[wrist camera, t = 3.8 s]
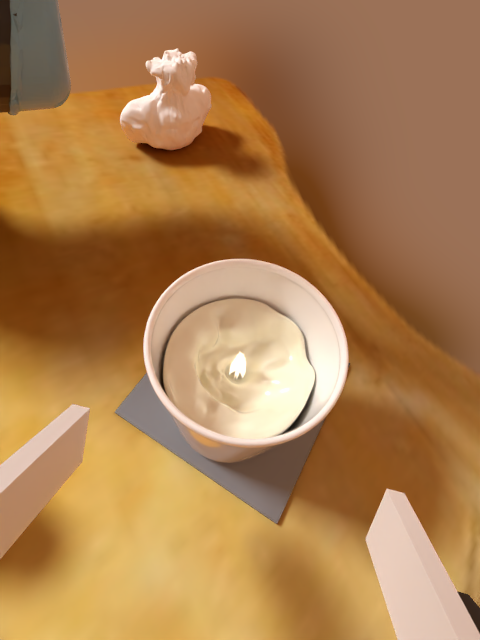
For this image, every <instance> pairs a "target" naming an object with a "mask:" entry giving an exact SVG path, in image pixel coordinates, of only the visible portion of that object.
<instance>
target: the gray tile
mask: <svg viewBox="0 0 480 640" xmlns="http://www.w3.org/2000/svg"><path fill="white" fill-rule="evenodd" d="M349 365H350V363H349V364H348V368H349ZM115 413H116V414H117V415H119V416H120V417H122V418H123V419H125V420H126V421H128V422H129V423H131V424H132V425H133V426H135V427H136V428H138V429H139V430H141V431H142V432H144V433H145V434H146V435H148V436H149V437H151V438H152V439H154V440H155V441H157V442H158V443H160V444H161V445H162V446H164V447H165V448H167V449H168V450H170V451H171V452H173V453H174V454H176V455H177V456H178V457H180V458H181V459H183V460H184V461H186V462H187V463H189V464H190V465H191V466H193V467H194V468H196V469H197V470H199V471H200V472H202V473H203V474H205V475H206V476H207V477H209V478H210V479H212V480H213V481H215V482H216V483H218V484H219V485H220V486H222V487H223V488H225V489H226V490H228V491H229V492H231V493H232V494H234V495H235V496H236V497H238V498H239V499H241V500H242V501H244V502H245V503H247V504H248V505H250V506H251V507H252V508H254V509H255V510H257V511H258V512H260V513H261V514H263V515H264V516H265V517H267V518H268V519H270V520H271V521H273V522H274V523H276V524H277V523H278V521H279V519H280V517H281V514H282V512H283V510H284V508H285V506H286V503H287V501H288V499H289V497H290V495H291V492H292V490H293V488H294V486H295V484H296V482H297V479H298V477H299V475H300V473H301V471H302V468H303V466H304V464H305V462H306V460H307V457H308V455H309V453H310V451H311V449H312V446H313V444H314V442H315V440H316V438H317V436H318V433H319V431H320V429H321V427H322V425H323V422H324V420H325V418H326V417H325V418H324V419H323V420H322V421H321V422H320V423H319V424H318V425H316V426H315V427H314V428H313V429H311V430H310V431H308V432H307V433H305V434H303V435H302V436H300V437H298V438H295V439H293V440H291V441H288V442H285V443H282V444H280V445H278V446H276V447H274V448H272V449H270V450H268V451H266V452H264V453H262V454H260V455H258V456H256V457H253V458H251V459H248V460H245V461H241V462H235V463H223V462H217V461H213V460H210V459H208V458H206V457H204V456H202V455H200V454H199V453H197V452H196V451H195V450H193V449H192V448H191V447H190V446H189V445H188V444H187V443H186V441H185V440H184V439H183V437H182V436H181V434H180V432H179V431H178V429H177V427H176V425H175V424H174V422H173V420H172V418H171V416H170V414H169V413H168V411H167V409H166V407H165V406H164V405H163V404H162V402H161V401H160V399H159V398H158V396H157V394H156V393H155V391H154V389H153V387H152V385H151V382H150V380H149V377H148V374H147V373H146V374H145V376H144V377H143V378H142V379H141V380H140V382H139V383H138V384H137V385H136V387H135V388H134V389H133V390H132V391H131V393H130V394H129V395H128V396H127V398H126V399H125V400H124V401H123V403H122V404H121V405H120V406H119V407H118V409H117V410H116V411H115Z"/></svg>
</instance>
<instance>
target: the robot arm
mask: <svg viewBox="0 0 480 640" xmlns="http://www.w3.org/2000/svg"><path fill="white" fill-rule="evenodd" d="M70 89H71V83H70V75H69V68H68V62H67V55H66V49H65V43H64V36H63V30H62V24H61V18H60V12H59V6H58V0H0V112H8V113H9V114H10V115H16V114H18V112H19V111H28V110H39V109H50V108H56V107H58V106H61V105H62V104H63V103H64V102H65V101H66V100H67V98H68V96H69V94H70ZM89 411H90V408H86V407H82V406H79V405H75V404H72V405H71V406H70V407H69V408H68V409H66V410H65V411H64V412H63V413H62V414H60V415H59V416H58V417H57V418H56V419H54V420H53V421H52V422H51V423H50V424H49V425H47V426H46V427H45V428H44V429H43V430H41V431H40V432H39V433H38V434H37V435H35V436H34V437H33V438H32V439H31V440H30V441H28V442H27V443H26V444H25V445H24V446H22V447H21V448H20V449H19V450H18V451H16V452H15V453H14V454H13V455H12V456H11V457H9V458H8V459H7V460H6V461H5V462H3V463H2V464H1V465H0V559H1V558H2V557H3V556H4V554H5V553H6V552H7V551H8V550H9V548H10V547H11V546H12V545H13V544H14V542H15V541H16V540H17V539H18V538H19V536H20V535H21V534H22V533H23V532H24V530H25V529H26V528H27V527H28V526H29V525H30V523H31V522H32V521H33V520H34V519H35V517H36V516H37V515H38V514H39V513H40V511H41V510H42V509H43V508H44V507H45V505H46V504H47V503H48V502H49V501H50V499H51V498H52V497H53V496H54V495H55V493H56V492H57V491H58V490H59V489H60V488H61V486H62V485H63V484H64V483H65V482H66V480H67V479H68V478H69V477H70V476H71V474H72V473H73V472H74V471H75V470H76V468H77V467H78V466H79V465H80V464H81V462H82V459H83V452H84V445H85V439H86V432H87V425H88V418H89ZM365 540H366V543H367V546H368V549H369V552H370V555H371V558H372V562H373V565H374V568H375V571H376V574H377V577H378V580H379V583H380V586H381V589H382V593H383V596H384V599H385V602H386V605H387V608H388V611H389V614H390V617H391V620H392V624H393V627H394V630H395V633H396V636H397V639H398V640H480V608H479V607H478V605H477V604H476V603H475V602H474V601H473V600H472V598H471V597H470V596H469V595H468V594H465V593H461V592H457V590H456V588H455V587H454V585H453V583H452V581H451V579H450V577H449V575H448V573H447V572H446V570H445V568H444V566H443V564H442V562H441V560H440V559H439V557H438V555H437V553H436V551H435V549H434V547H433V545H432V544H431V542H430V540H429V538H428V536H427V534H426V532H425V530H424V529H423V527H422V525H421V523H420V521H419V519H418V517H417V516H416V514H415V512H414V510H413V508H412V506H411V504H410V502H409V501H408V499H407V497H406V495H405V493H402V492H398V491H395V490H391V489H386V492H385V494H384V496H383V499H382V501H381V503H380V506H379V508H378V510H377V513H376V515H375V517H374V520H373V522H372V524H371V527H370V529H369V531H368V534H367V536H366V538H365Z"/></svg>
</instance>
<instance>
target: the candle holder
mask: <svg viewBox="0 0 480 640" xmlns="http://www.w3.org/2000/svg"><path fill="white" fill-rule="evenodd" d="M143 351H144V361H145V366H146V371H147V374H148V377H149V380H150V382H151V385H152V387H153V389H154V391H155V393H156V394H157V396H158V398H159V399H160V401H161V402H162V404H163V405H164V406H165V407H166V409H167V411H168V413H169V414H170V416H171V418H172V420H173V422H174V424H175V425H176V427H177V429H178V431H179V432H180V434H181V436H182V437H183V439H184V440H185V441H186V443H187V444H188V445H189V446H190V447H191V448H192V449H193V450H195V451H196V452H197V453H199V454H200V455H202V456H204V457H206V458H208V459H210V460H213V461H217V462H223V463H235V462H241V461H245V460H248V459H251V458H253V457H256V456H258V455H260V454H262V453H264V452H266V451H268V450H270V449H272V448H274V447H276V446H278V445H280V444H282V443H285V442H288V441H291V440H293V439H295V438H298V437H300V436H302V435H303V434H305V433H307V432H308V431H310V430H311V429H313V428H314V427H315V426H316V425H318V424H319V423H320V422H321V421H322V420H323V419H324V418H325V417H326V416H327V415H328V414H329V412H330V411H331V410H332V409H333V407H334V406H335V404H336V402H337V401H338V399H339V397H340V395H341V393H342V390H343V388H344V385H345V382H346V378H347V373H348V364H349V353H348V344H347V339H346V335H345V332H344V329H343V326H342V324H341V321H340V319H339V317H338V315H337V314H336V312H335V310H334V309H333V307H332V306H331V304H330V303H329V302H328V300H327V299H326V298H325V297H324V296H323V294H322V293H321V292H320V291H319V290H318V289H316V288H315V287H314V286H313V285H312V284H311V283H309V282H308V281H307V280H305V279H304V278H302V277H301V276H299V275H298V274H296V273H294V272H292V271H290V270H288V269H286V268H283V267H281V266H278V265H275V264H272V263H269V262H264V261H259V260H253V259H227V260H220V261H215V262H211V263H208V264H205V265H202V266H200V267H197V268H195V269H193V270H191V271H189V272H187V273H186V274H184V275H183V276H181V277H180V278H178V279H177V280H176V281H175V282H173V283H172V284H171V285H170V286H169V287H168V288H167V289H166V290H165V291H164V292H163V294H162V295H161V296H160V298H159V299H158V300H157V302H156V304H155V305H154V307H153V309H152V311H151V313H150V316H149V318H148V321H147V325H146V329H145V334H144V344H143Z"/></svg>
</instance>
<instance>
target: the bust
mask: <svg viewBox="0 0 480 640" xmlns="http://www.w3.org/2000/svg"><path fill="white" fill-rule="evenodd" d="M196 66H197V61H196V55H195V54H194V53H193V52H188V53H186V54H182V53H181V52H179V49H175V50H168V51H165V52H164V55H163V58H162V60H161V59H160V58H159V57H154V58H153V60H151V61H147V62H146V68H147V70H148V71H149V72H150V73H151V75H152V76H156V79H157V86H156V89H155V90H154V91H153V92H152V93H151V94H150V95H148V96H144V97H142V98H138V99H135V100H132V101H130V102H129V103H128V104H127V105H126V107H125V108H124V109H123V111H122V113H121V118H120V123H121V126H122V129H123V131H124V133H125V134H126V136H127V137H128V139H129V140H131V141H132V142H136V143H147V144H149V145H150V146H152V147H154V148H161V149H166V150H176V149H181V148H183V147H185V146H187V145H189V144H191V143H192V142H193V140H194V138H195V137H197V136H198V135H199V134H200V133H201V132H202V125H203V123H204V120H205V118H206V116H207V114H208V112H209V110H210V109H211V94H210V92H209V90H208V89H207V88H206V87H205V86H203V85H199V84H194V81H195V79H196V76H195V69H196Z"/></svg>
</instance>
